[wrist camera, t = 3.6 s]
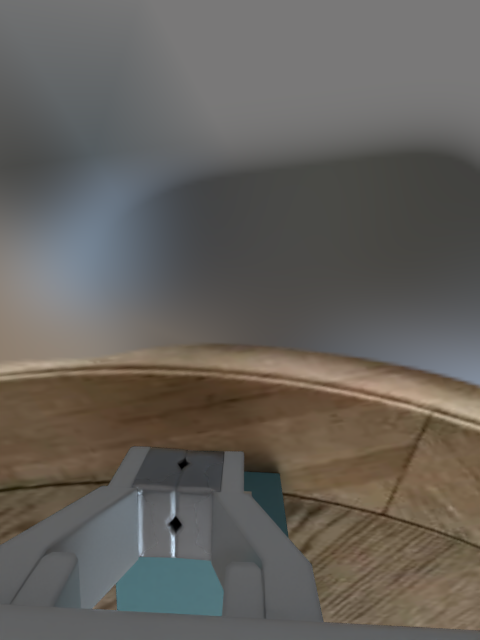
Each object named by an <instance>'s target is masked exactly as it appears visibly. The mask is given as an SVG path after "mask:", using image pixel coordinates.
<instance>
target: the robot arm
mask: <svg viewBox="0 0 480 640" xmlns="http://www.w3.org/2000/svg"><path fill="white" fill-rule="evenodd" d="M138 557H161V558H183V559H194V560H206V561H211V564H212V566H213V568H214V570H215V572H216V575H217V577H218V579H219V581H220V583H221V586H222V588H223V590H224V595H223V608H222V616H209V615H192V614H173V613H155V612H137V611H118V610H100V609H92V608H93V607H94V606H95V605H96V604H97V603H98V602H99V601H100V600H101V599H102V598H103V596H104V595H105V594H106V593H107V592H108V591H109V590H110V589H111V588H112V587H113V586H114V585H115V584H116V583H117V582H118V581H119V579H120V578H121V577H122V576H123V575H124V574H125V573H126V572H127V571H128V570H129V569H130V568H131V567H132V566H133V565H134V564H135V563H136V561H137V560H138ZM0 640H480V631H479V630H461V629H443V628H425V627H406V626H387V625H367V624H347V623H330V622H323V617H322V612H321V608H320V603H319V598H318V593H317V588H316V584H315V579H314V574H313V569H312V564H311V563H310V562H309V561H308V560H307V559H306V558H305V556H304V555H303V554H302V553H301V552H300V551H299V550H298V548H297V547H296V546H295V545H294V544H293V543H292V542H291V540H290V539H289V538H288V537H287V536H286V535H285V534H284V533H283V531H282V530H281V529H280V528H279V527H278V526H277V525H276V523H275V522H274V521H273V520H272V519H271V518H270V517H269V515H268V514H267V513H266V512H265V511H264V510H263V509H262V507H261V506H260V505H259V504H258V503H257V502H256V501H255V499H254V498H253V497H252V496H251V495H250V494H245V493H244V452H243V451H225V452H224V451H192V450H184V449H171V448H157V447H152V448H151V447H142V446H133V447H131V448H130V449H129V451H128V453H127V454H126V456H125V458H124V459H123V461H122V463H121V464H120V466H119V468H118V470H117V471H116V473H115V475H114V476H113V478H112V480H111V481H110V483H109V485H108V486H101V487H99V488H98V489H96V490H94V491H92V492H91V493H89V494H87V495H86V496H84V497H82V498H80V499H79V500H77V501H75V502H74V503H72V504H70V505H68V506H67V507H65V508H63V509H62V510H60V511H58V512H56V513H55V514H53V515H51V516H50V517H48V518H46V519H44V520H43V521H41V522H39V523H38V524H36V525H34V526H32V527H31V528H29V529H27V530H26V531H24V532H22V533H20V534H19V535H17V536H15V537H14V538H12V539H10V540H8V541H7V542H5V543H3V544H2V545H0Z"/></svg>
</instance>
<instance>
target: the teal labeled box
mask: <svg viewBox="0 0 480 640" xmlns="http://www.w3.org/2000/svg"><path fill="white" fill-rule="evenodd" d="M244 493H245V494H250V495H251V496H252V497H253V498H254V499H255V501H256V502H257V503H258V504H259V505H260V506H261V507H262V509H263V510H264V511H265V512H266V513H267V514H268V515H269V517H270V518H271V519H272V520H273V521H274V522H275V523H276V525H277V526H278V527H279V528H280V529H281V530H282V531H283V533H284V534H285V535H286V536H287V537H288V531H287V524H286V517H285V510H284V503H283V495H282V488H281V481H280V475H279V474H278V473H261V472H244ZM116 594H117V610H118V611H137V612H155V613H173V614H192V615H209V616H222V608H223V595H224V590H223V588H222V586H221V583H220V581H219V579H218V577H217V575H216V572H215V570H214V568H213V566H212V564H211V561H206V560H194V559H183V558H161V557H138V560H137V561H136V563H135V564H134V565H133V566H132V567H131V568H130V569H129V570H128V571H127V572H126V573H125V574H124V575H123V576H122V577H121V578H120V579H119V581H118V582H117V583H116Z"/></svg>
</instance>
